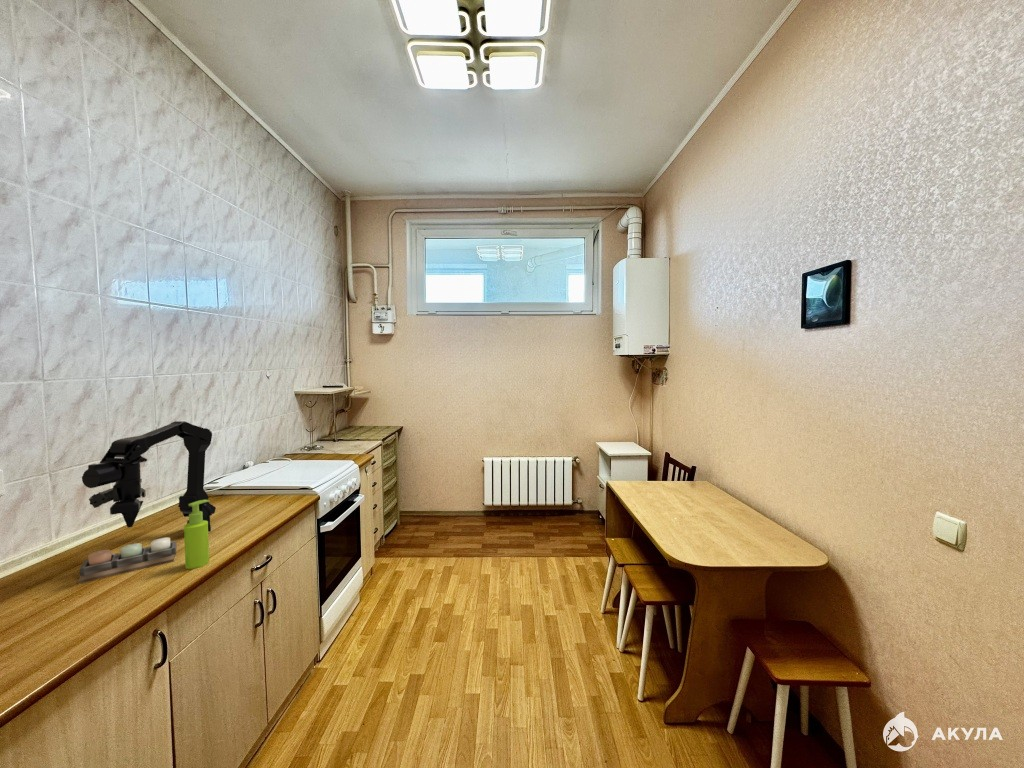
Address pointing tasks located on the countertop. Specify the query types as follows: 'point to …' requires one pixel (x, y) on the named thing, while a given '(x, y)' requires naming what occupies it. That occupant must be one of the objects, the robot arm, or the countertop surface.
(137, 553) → the pale green rounded block
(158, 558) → the soap tray
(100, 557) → the pink rounded block
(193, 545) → the soap dispenser
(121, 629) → the countertop surface
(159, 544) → the white rounded block
